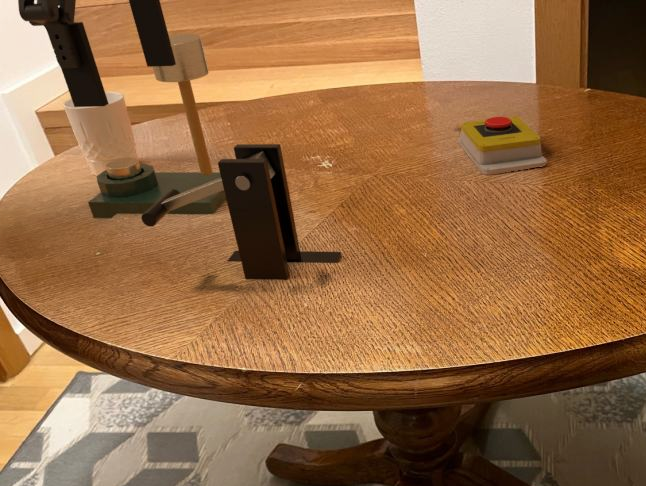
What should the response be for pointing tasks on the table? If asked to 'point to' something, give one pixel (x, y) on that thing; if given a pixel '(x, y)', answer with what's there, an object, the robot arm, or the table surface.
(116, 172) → the lamp button
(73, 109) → the white cup
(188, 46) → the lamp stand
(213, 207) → the lamp base
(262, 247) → the brown bracket stand
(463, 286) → the table surface
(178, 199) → the lever
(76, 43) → the robot arm
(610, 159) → the table surface
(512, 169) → the emergency button
